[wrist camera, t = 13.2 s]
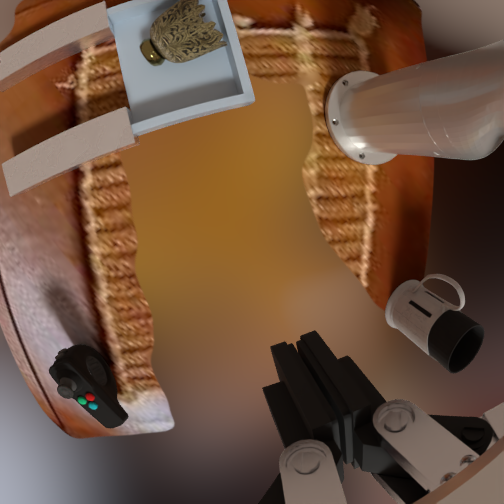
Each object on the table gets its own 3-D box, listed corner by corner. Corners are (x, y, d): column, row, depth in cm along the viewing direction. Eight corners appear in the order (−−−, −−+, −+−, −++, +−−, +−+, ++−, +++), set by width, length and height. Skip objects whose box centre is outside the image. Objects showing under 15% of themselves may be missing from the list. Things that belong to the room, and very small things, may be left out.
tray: (217, -8, 27) (220, -19, 25) (249, 105, 33) (255, 100, 30) (111, 18, 26) (106, 8, 23) (137, 135, 31) (133, 133, 28)
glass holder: (388, 336, 48) (442, 388, 33) (375, 264, 43) (445, 309, 29) (426, 312, 48) (483, 354, 34) (419, 240, 43) (491, 273, 29)
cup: (168, 79, 32) (227, 45, 30) (158, 86, 26) (230, 43, 24) (136, 33, 28) (196, -3, 26) (118, 30, 22) (191, -15, 20)
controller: (82, 324, 36) (60, 369, 27) (135, 387, 40) (130, 437, 31) (61, 336, 36) (37, 380, 26) (114, 396, 40) (106, 445, 31)
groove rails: (110, 12, 25) (104, 0, 22) (139, 144, 32) (135, 142, 28) (0, 66, 24) (-13, 61, 20) (23, 192, 30) (10, 196, 26)
